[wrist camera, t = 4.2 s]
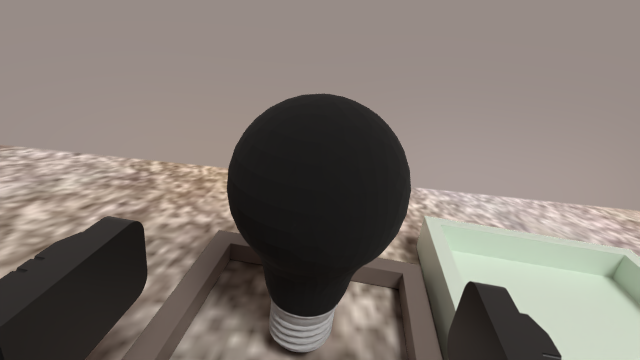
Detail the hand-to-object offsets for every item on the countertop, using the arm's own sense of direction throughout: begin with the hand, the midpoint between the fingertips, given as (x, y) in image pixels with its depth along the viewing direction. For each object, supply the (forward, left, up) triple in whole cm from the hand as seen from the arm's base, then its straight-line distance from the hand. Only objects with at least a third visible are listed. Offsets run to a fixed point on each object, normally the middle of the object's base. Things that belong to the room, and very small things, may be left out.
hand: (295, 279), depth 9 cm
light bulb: (0, +4, -6) cm, 7 cm away
